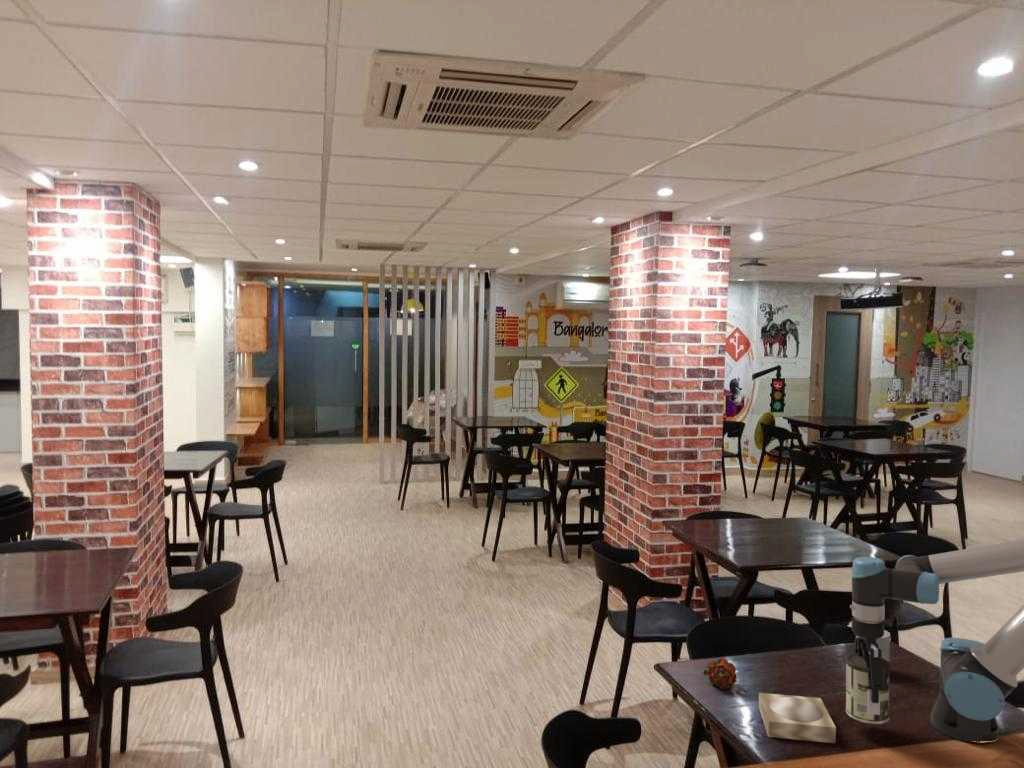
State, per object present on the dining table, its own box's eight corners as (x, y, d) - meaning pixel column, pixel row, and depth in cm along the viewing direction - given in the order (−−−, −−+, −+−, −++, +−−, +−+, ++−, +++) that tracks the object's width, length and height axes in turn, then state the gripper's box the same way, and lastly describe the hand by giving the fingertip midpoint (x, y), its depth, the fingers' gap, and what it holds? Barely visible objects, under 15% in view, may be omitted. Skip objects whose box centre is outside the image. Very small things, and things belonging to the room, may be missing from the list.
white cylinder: (850, 663, 231) (851, 625, 231) (882, 665, 230) (883, 627, 230) (860, 676, 222) (861, 636, 221) (894, 679, 221) (895, 638, 220)
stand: (820, 712, 199) (820, 697, 199) (835, 743, 184) (835, 726, 183) (758, 707, 202) (759, 692, 202) (768, 736, 186) (768, 720, 186)
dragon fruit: (726, 701, 209) (711, 688, 221) (749, 682, 210) (733, 670, 222) (708, 676, 209) (694, 665, 221) (731, 657, 210) (716, 647, 222)
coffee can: (882, 707, 194) (883, 654, 193) (894, 726, 183) (895, 670, 183) (840, 703, 196) (841, 651, 195) (850, 722, 186) (851, 667, 185)
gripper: (840, 603, 200) (840, 683, 201) (865, 634, 178) (864, 724, 179) (870, 604, 199) (869, 685, 200) (898, 635, 177) (897, 726, 178)
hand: (867, 703), depth 189 cm, fingers closed on coffee can, 10 cm apart
